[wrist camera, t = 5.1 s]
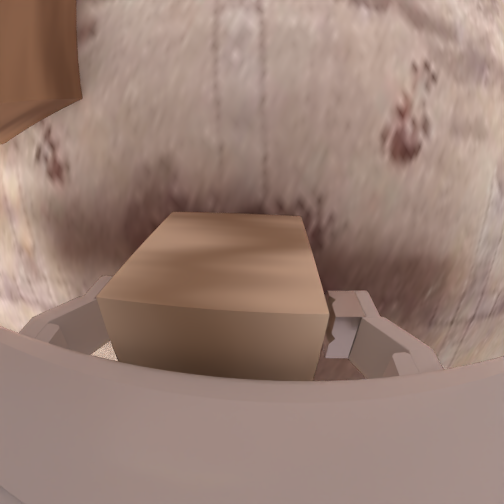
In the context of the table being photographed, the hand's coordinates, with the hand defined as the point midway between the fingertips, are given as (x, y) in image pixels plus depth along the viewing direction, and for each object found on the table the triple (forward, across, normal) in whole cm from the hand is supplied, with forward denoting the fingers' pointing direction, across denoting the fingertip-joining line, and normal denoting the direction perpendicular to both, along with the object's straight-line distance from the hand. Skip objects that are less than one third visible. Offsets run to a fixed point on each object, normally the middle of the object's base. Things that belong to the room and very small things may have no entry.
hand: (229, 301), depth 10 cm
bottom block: (+2, +10, -10) cm, 14 cm away
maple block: (+2, 0, 0) cm, 2 cm away
